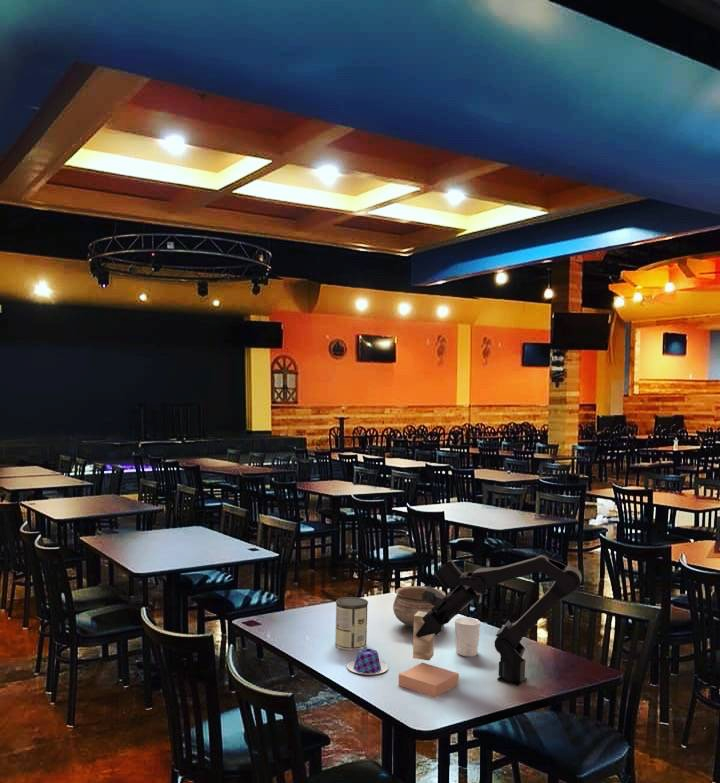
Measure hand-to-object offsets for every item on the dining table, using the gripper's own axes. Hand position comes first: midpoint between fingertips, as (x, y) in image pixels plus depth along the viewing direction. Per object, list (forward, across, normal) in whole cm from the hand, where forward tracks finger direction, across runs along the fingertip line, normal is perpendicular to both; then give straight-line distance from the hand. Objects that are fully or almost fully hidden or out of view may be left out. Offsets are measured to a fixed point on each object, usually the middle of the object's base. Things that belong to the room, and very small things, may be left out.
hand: (419, 633), depth 210 cm
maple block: (+4, 0, +6) cm, 7 cm away
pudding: (+16, +9, -2) cm, 19 cm away
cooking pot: (+13, -35, 0) cm, 37 cm away
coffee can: (+24, -7, -11) cm, 27 cm away
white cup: (-1, -17, +15) cm, 22 cm away
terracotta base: (+2, +13, +11) cm, 18 cm away
